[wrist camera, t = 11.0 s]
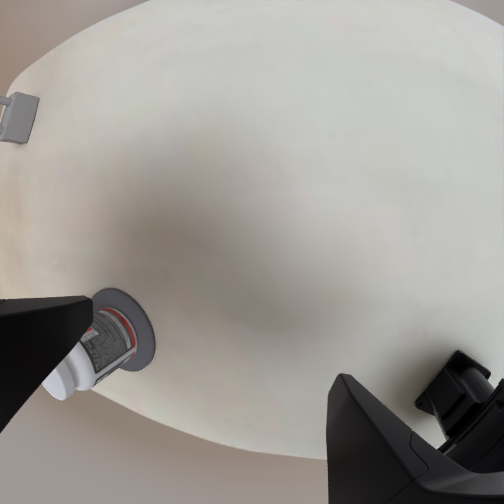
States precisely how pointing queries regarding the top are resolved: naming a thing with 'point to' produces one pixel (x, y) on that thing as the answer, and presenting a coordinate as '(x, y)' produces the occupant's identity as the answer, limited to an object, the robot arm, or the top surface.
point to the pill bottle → (94, 354)
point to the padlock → (17, 117)
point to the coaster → (136, 318)
